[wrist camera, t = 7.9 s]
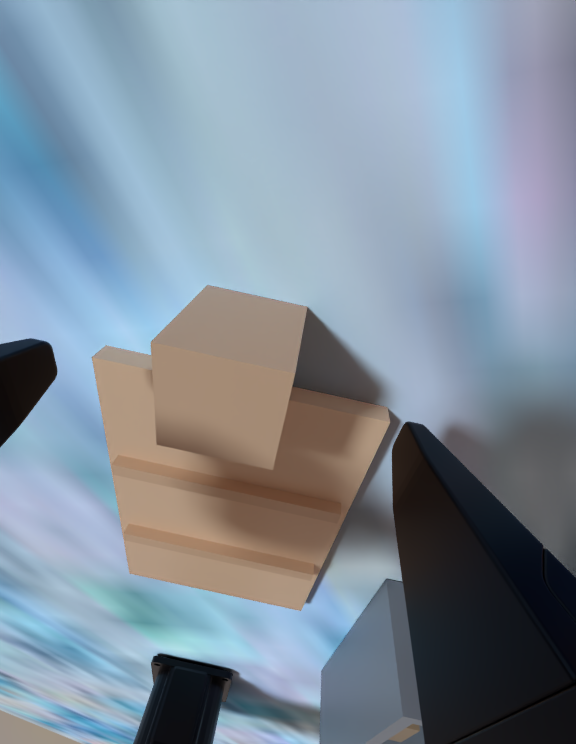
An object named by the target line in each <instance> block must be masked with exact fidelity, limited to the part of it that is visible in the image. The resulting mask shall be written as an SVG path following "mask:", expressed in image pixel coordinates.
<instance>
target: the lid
mask: <svg viewBox="0 0 576 744" xmlns="http://www.w3.org/2000/svg"><path fill="white" fill-rule="evenodd" d="M306 312H307V307H306V306H301V305H297V304H292V303H287V302H283V301H278V300H274V299H269V298H264V297H260V296H255V295H251V294H246V293H242V292H237V291H232V290H228V289H223V288H219V287H214V286H209V285H207V286H206V287H205V288H204V289H203V290H202V291H201V292H200V293H199V294H198V295H197V296H196V297H195V298H194V299H193V300H192V301H191V302H190V303H189V304H188V305H187V306H186V307H185V308H184V309H183V310H182V311H181V312H180V313H179V314H178V315H177V316H176V317H175V318H174V319H173V320H172V321H171V322H170V323H169V324H168V325H167V326H166V327H165V328H164V329H163V330H162V331H161V332H160V333H159V334H158V335H157V336H156V337H155V338H154V339H153V340H152V341H151V355H148V354H143V353H138V352H134V351H129V350H125V349H120V348H116V347H111V346H107V345H106V346H105V347H104V348H102V349H101V350H100V351H99V352H98V353H96V354H95V355H94V356H93V357H92V361H93V366H94V372H95V378H96V383H97V389H98V395H99V401H100V406H101V412H102V418H103V424H104V429H105V435H106V441H107V447H108V452H109V458H110V464H111V469H112V475H113V481H114V487H115V492H116V498H117V504H118V510H119V515H120V521H121V527H122V533H123V538H124V544H125V550H126V556H127V561H128V567H129V573H130V574H134V575H139V576H144V577H148V578H153V579H157V580H162V581H166V582H171V583H176V584H180V585H185V586H189V587H194V588H198V589H203V590H208V591H212V592H217V593H221V594H226V595H230V596H235V597H240V598H244V599H249V600H253V601H258V602H262V603H267V604H272V605H276V606H281V607H285V608H290V609H294V610H299V611H301V610H302V608H303V606H304V603H305V601H306V599H307V597H308V595H309V593H310V591H311V589H312V587H313V584H314V582H315V580H316V578H317V576H318V574H319V572H320V570H321V568H322V565H323V563H324V561H325V559H326V557H327V555H328V553H329V551H330V549H331V546H332V544H333V542H334V540H335V538H336V536H337V534H338V532H339V530H340V527H341V525H342V523H343V521H344V519H345V517H346V515H347V513H348V511H349V509H350V506H351V504H352V502H353V500H354V498H355V496H356V494H357V492H358V490H359V487H360V485H361V483H362V481H363V479H364V477H365V475H366V473H367V471H368V468H369V466H370V464H371V462H372V460H373V458H374V456H375V454H376V452H377V449H378V447H379V445H380V443H381V441H382V439H383V437H384V435H385V433H386V430H387V428H388V426H389V424H390V418H389V413H388V409H387V407H384V406H380V405H375V404H371V403H366V402H361V401H357V400H352V399H348V398H343V397H339V396H334V395H330V394H325V393H320V392H316V391H311V390H307V389H302V388H298V387H293V386H292V385H293V381H294V377H295V372H296V367H297V361H298V356H299V350H300V345H301V339H302V334H303V329H304V323H305V318H306Z"/></svg>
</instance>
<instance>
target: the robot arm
mask: <svg viewBox="0 0 576 744" xmlns="http://www.w3.org/2000/svg"><path fill="white" fill-rule="evenodd" d="M56 376H57V366H56V362H55V358H54V353H53V349H52V346H51V345H50V344H49V343H48V342H46V341H42V340H37V339H24V340H19V341H14V342H9V343H4V344H0V447H1V446H2V445H3V444H4V443H5V442H6V441H7V439H8V438H9V437H10V436H11V435H12V434H13V433H14V432H15V431H16V429H17V428H18V427H19V426H20V425H21V423H22V422H23V421H24V420H25V418H26V417H27V416H28V414H29V413H30V412H31V410H32V409H33V408H34V406H35V405H36V404H37V402H38V401H39V400H40V398H41V397H42V396H43V394H44V393H45V392H46V390H47V389H48V388H49V386H50V385H51V384H52V382H53V381H54V380H55V378H56ZM392 486H393V512H394V521H395V528H396V536H397V543H398V551H399V558H400V565H401V573H402V580H403V587H404V595H405V602H406V609H407V617H408V624H409V632H410V639H411V646H412V654H413V661H414V668H415V676H416V683H417V690H418V698H419V705H420V713H421V720H422V727H423V735H424V742H425V744H576V578H575V577H574V576H573V575H572V574H571V573H570V572H569V571H568V570H567V569H566V568H565V567H564V566H563V565H562V564H561V563H560V562H559V561H558V560H557V559H556V558H555V557H554V556H553V555H552V554H551V553H550V552H549V551H548V550H547V549H543V545H542V544H541V543H540V542H539V541H538V540H537V539H536V538H535V537H534V536H533V535H532V534H531V533H530V532H529V531H528V530H527V529H526V528H525V527H524V526H523V525H522V524H521V522H520V521H519V520H518V519H517V518H516V517H515V516H514V515H513V514H512V513H511V512H510V511H509V510H508V509H507V508H506V507H505V506H504V505H503V504H502V503H501V502H500V501H499V500H498V499H497V498H496V497H495V496H494V495H493V494H492V493H491V492H490V491H489V490H488V489H487V488H486V487H485V486H484V485H483V484H482V483H481V482H480V481H479V480H478V479H477V478H476V477H475V476H474V475H473V474H472V473H471V472H470V471H469V470H468V469H467V468H466V467H465V466H464V465H463V464H462V463H461V462H460V461H459V460H458V459H457V458H456V457H455V456H454V455H453V454H452V453H451V452H450V451H449V450H448V449H447V448H446V447H445V446H444V445H443V444H442V443H441V442H440V441H439V440H438V439H437V438H436V437H435V436H434V435H433V434H432V433H431V432H430V431H429V430H428V429H427V428H426V427H425V426H424V425H422V424H418V423H414V422H406V423H405V424H404V425H403V427H402V429H401V431H400V433H399V435H398V437H397V439H396V441H395V443H394V445H393V449H392ZM151 666H152V674H153V682H154V686H153V688H152V691H151V694H150V697H149V700H148V703H147V706H146V709H145V712H144V714H143V717H142V720H141V723H140V726H139V729H138V732H137V735H136V738H135V740H134V743H133V744H213V740H214V735H215V730H216V725H217V721H218V716H219V711H220V706H221V702H225V701H226V699H227V695H228V692H229V688H230V684H231V681H232V676H233V674H232V673H231V672H228V671H224V670H219V669H215V668H210V667H206V666H201V665H197V664H192V663H188V662H183V661H179V660H174V659H170V658H165V657H161V656H154V657H153V660H152V662H151Z"/></svg>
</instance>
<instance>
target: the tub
mask: <svg viewBox="0 0 576 744" xmlns="http://www.w3.org/2000/svg"><path fill="white" fill-rule="evenodd" d="M320 744H425V742H424V735H423V727H422V720H421V713H420V705H419V698H418V690H417V683H416V676H415V668H414V661H413V654H412V646H411V639H410V632H409V624H408V617H407V609H406V602H405V595H404V587H403V583H402V582H398V581H393V580H389V579H386V580H385V581H384V583H383V584H382V586H381V587H380V588H379V590H378V591H377V593H376V594H375V596H374V597H373V598H372V600H371V601H370V603H369V604H368V605H367V607H366V608H365V610H364V611H363V613H362V614H361V615H360V617H359V618H358V620H357V621H356V622H355V624H354V625H353V627H352V628H351V630H350V631H349V632H348V634H347V635H346V637H345V638H344V640H343V641H342V642H341V644H340V645H339V647H338V648H337V649H336V651H335V652H334V654H333V655H332V657H331V658H330V659H329V661H328V662H327V664H326V665H325V666H324V668H323V669H322V671H321V707H320Z"/></svg>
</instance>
